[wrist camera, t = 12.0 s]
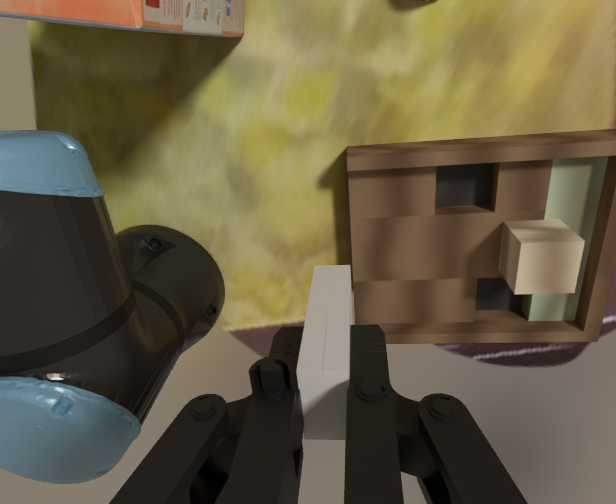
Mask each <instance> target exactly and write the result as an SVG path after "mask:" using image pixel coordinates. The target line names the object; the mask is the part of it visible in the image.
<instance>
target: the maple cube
mask: <svg viewBox="0 0 616 504" xmlns="http://www.w3.org/2000/svg"><path fill="white" fill-rule="evenodd" d="M584 243H585V241H584V240H583V239H582V238H581V237H580V236H579V235H577V234H576V233H575V232H574V231H573V230H572V229H570V228H569V227H568V226H567V225H566V224H565V223H564V222H562V221H561V220H560V219H548V220H524V221H503V228H502V237H501V246H500V255H499V264H498V269H499V271H500V272H501V274H502V275H503V277H504V279H505V280H506V282H507V283H508V285H509V286H510V288H511V290H512V291H513V293H514V294H555V293H575V288H576V283H577V278H578V273H579V268H580V263H581V258H582V253H583V248H584Z"/></svg>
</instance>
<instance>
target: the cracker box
mask: <svg viewBox="0 0 616 504" xmlns="http://www.w3.org/2000/svg"><path fill="white" fill-rule="evenodd" d="M244 9H245V0H0V16H1V17H9V18H19V19H26V20H35V21H43V22H52V23H61V24H70V25H79V26H89V27H98V28H109V29H121V30H132V31H143V32H158V33H174V34H187V35H201V36H218V37H234V38H242V37H243V35H244Z"/></svg>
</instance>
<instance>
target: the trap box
mask: <svg viewBox="0 0 616 504" xmlns="http://www.w3.org/2000/svg"><path fill="white" fill-rule="evenodd" d="M347 171H348V183H349V204H350V225H351V246H352V267H353V288H354V308H355V325H374V324H378V325H379V327H380V328H381V329H382V330H383V332H384V333H385V342H386V344H412V343H413V344H414V343H415V344H420V343H511V342H597V341H598V337H599V333H600V329H601V325H602V321H603V317H604V312H605V308H606V304H607V300H608V296H609V292H610V287H611V283H612V279H613V275H614V271H615V266H616V129H606V130H591V131H575V132H560V133H545V134H530V135H515V136H499V137H484V138H469V139H454V140H438V141H423V142H408V143H393V144H377V145H362V146H347ZM548 219H560V220H561V221H562V222H564V223H565V224H566V225H567V226H568V227H569V228H570V229H572V230H573V231H574V232H575V233H576V234H577V235H579V236H580V237H581V238H582V239H583V240H584V241H585V243H584V248H583V253H582V258H581V263H580V268H579V273H578V278H577V283H576V288H575V293H555V294H514V293H513V291H512V290H511V288H510V286H509V285H508V283H507V282H506V280H505V279H504V277H503V275H502V274H501V272H500V271H499V269H498V264H499V255H500V246H501V237H502V228H503V221H524V220H548Z"/></svg>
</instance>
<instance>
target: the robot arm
mask: <svg viewBox="0 0 616 504" xmlns="http://www.w3.org/2000/svg"><path fill="white" fill-rule="evenodd" d="M103 196H105V192H104V190H103V188H101V187H100V186H99V183H98V181H97V178H96V176H95V173H94V171H93V168H92V166H91V163H90V161H89V158H88V155H87V153H86V151H85V149H84V147H83V146H82V145H81V143H80V142H79V141H77V140H76V139H75V138H73V137H72V136H70V135H68V134H65V133H62V132H58V131H47V130H24V131H23V130H20V131H0V468H2V469H4V470H7V471H9V472H12V473H15V474H17V475H19V476H22V477H25V478H28V479H33V480H37V481H41V482H49V483H57V484H71V483H82V482H87V481H90V480H93V479H96V478H98V477H101V476H102V475H104V474H106V473H108V472H109V471H110V470H111V469H112V468H114V466H115V465H116V464H117V463H118V462H119V461H120V459H121V458H122V456H123V455H124V453H125V452H126V450H127V449H128V447H129V446H130V444H131V443H132V441H133V440H135V439H136V438H137V437H138V435H139V433H140V431H141V430H140V429H141V426H142V424H143V422H144V420H145V419H146V417H147V415H148V413H149V411H150V409H151V407H152V405H153V404H154V402H155V400H156V398H157V396H158V394H159V392H160V390H161V389H162V387H163V385H164V383H165V381H166V379H167V378H168V376H169V374H170V372H171V370H172V369H173V367H174V365H175V363H176V361H177V359H178V358H179V356H180V354H182V353H183V352H184V351H186V350H187V349H188V348H190V347H191V346H192V345H194V344H195V343H196V342H198V341H199V340H201V339H202V338H203V337H204V336H205V335H206V334H207V333H208V332H209V331H210V330H211V329H212V327H213V326H214V324H215V323H216V321H217V319H218V317H219V315H220V313H221V310H222V308H223V304H224V299H225V287H224V281H223V277H222V275H221V272H220V270H219V268H218V266H217V264H216V262H215V261H214V259H213V258H212V257H211V255H210V254H209V253H208V252H207V251H206V250H205V249H204V248H203V247H202V246H201V245H200V244H199V243H198V242H196V241H195V240H194V239H192V238H190V237H189V236H187V235H185V234H183V233H181V232H179V231H177V230H174V229H171V228H168V227H164V226H158V225H139V226H134V227H130V228H127V229H125V230H123V231H120V232H119V233H117V234H116V235H115V233H114V229H113V226H112V223H111V220H110V216H109V213H108V210H107V206H106V203H105V200H104V197H103ZM249 375H250V381H251V386H252V391H253V392H252V394H251V395H250V396H248V397H246V398H243V399H240V400H237V401H233V402H229V403H226V401H225V400H224V399H223V398H222V397H221V396H219V395H216V394H205V395H201V396H198V397H196V398H194V399H192V400H191V401H189V403H187V404H186V405H185V406H184V408H183V409H182V410H181V411H180V413H179V414H178V415H177V417H176V418H175V419H174V420H173V422H172V423H171V424H170V426H169V427H168V428H167V430H166V431H165V432H164V433H163V435H162V436H161V437H160V439H159V440H158V441H157V442H156V444H155V445H154V446H153V448H152V449H151V450H150V452H149V453H148V454H147V455H146V457H145V458H144V459H143V460H142V462H141V463H140V464H139V466H138V467H137V468H136V470H135V471H134V472H133V473H132V475H131V476H130V477H129V478H128V480H127V481H126V482H125V484H124V485H123V486H122V488H121V489H120V490H119V491H118V493H117V494H116V496H115V497H114V498H113V499H112V500H111V502H110V503H109V504H297V503H298V495H299V486H300V477H301V470H302V462H303V447H302V438H303V430H304V438H305V439H326V440H327V439H328V440H346V447H345V490H344V504H404V501H403V492H402V481H401V472H404V473H407V474H410V475H413V476H416V477H417V480H418V483H419V485H420V488H421V490H422V493H423V495H424V497H425V500H426V502H427V504H527V502H526V500H525V499H524V497H523V495H522V494H521V492H520V491H519V489H518V488H517V486H516V484H515V483H514V481H513V480H512V478H511V477H510V475H509V473H508V472H507V470H506V469H505V467H504V466H503V464H502V463H501V461H500V459H499V458H498V456H497V455H496V453H495V452H494V450H493V448H492V447H491V445H490V444H489V442H488V441H487V439H486V438H485V436H484V435H483V433H482V431H481V430H480V428H479V427H478V425H477V423H476V422H475V420H474V419H473V417H472V416H471V414H470V412H469V411H468V409H467V408H466V406H465V405H464V404H463V403H462V402H461V401H460V400H458V399H457V398H455V397H453V396H451V395H446V394H443V393H440V394H431V395H428V396H425V397H424V398H423V399H422V400H421V401H420V402H417V401H414V400H410V399H407V398H405V397H403V396H401V395H399V394H398V393H397V392H396V391H394V389H393V388H392V386H391V384H390V380H389V371H388V361H387V352H386V342H385V333H384V332H383V330H382V329H381V328H380V327H379V325H378V324H374V325H353V311H352V290H351V270H350V265H332V266H315V267H314V273H313V278H312V284H311V290H310V296H309V301H308V307H307V313H306V319H305V324H304V327H281V329H280V330H279V331H278V332H277V333H276V334H275V335H274V338H273V342H272V347H271V349H270V354H269V357H265V358H263V359H260V360H258V361H257V362H256V363H254V364H253V365H252V366H251V368H250V369H249ZM400 471H401V472H400Z"/></svg>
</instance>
